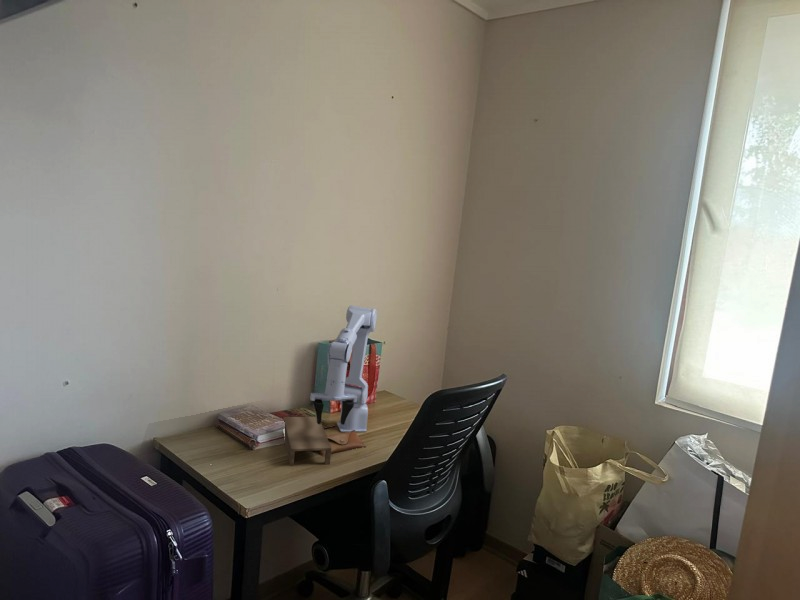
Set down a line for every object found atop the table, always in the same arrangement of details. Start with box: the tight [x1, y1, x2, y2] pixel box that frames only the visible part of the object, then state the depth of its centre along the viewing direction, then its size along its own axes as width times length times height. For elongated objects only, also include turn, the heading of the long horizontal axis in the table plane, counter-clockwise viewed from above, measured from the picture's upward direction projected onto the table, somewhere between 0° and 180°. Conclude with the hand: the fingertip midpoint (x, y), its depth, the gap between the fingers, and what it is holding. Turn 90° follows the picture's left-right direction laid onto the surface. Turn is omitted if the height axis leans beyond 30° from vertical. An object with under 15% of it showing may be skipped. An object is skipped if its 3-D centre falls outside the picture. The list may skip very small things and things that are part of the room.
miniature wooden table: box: [282, 416, 332, 467], centre depth 177 cm, size 12×25×5 cm, turn 18°
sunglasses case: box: [313, 430, 367, 458], centre depth 181 cm, size 18×7×7 cm, turn 131°
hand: (330, 423), depth 171 cm, fingers open, 7 cm apart
